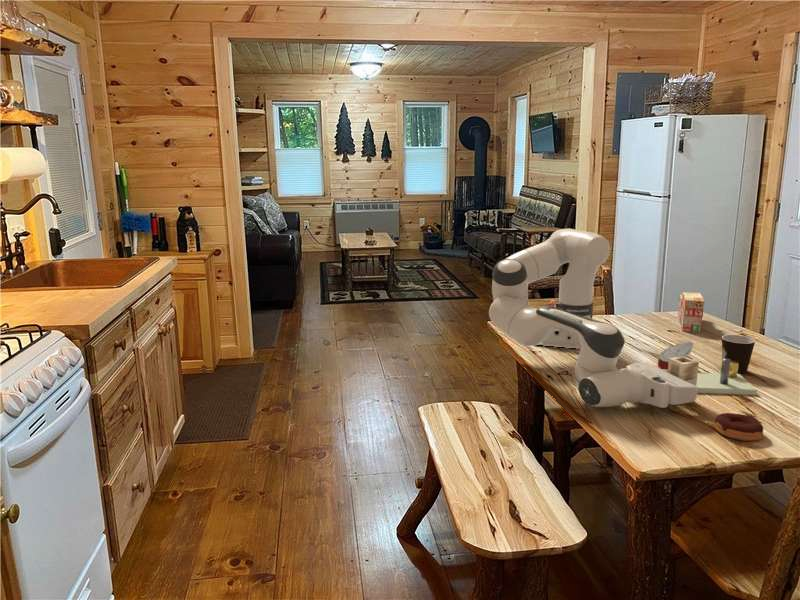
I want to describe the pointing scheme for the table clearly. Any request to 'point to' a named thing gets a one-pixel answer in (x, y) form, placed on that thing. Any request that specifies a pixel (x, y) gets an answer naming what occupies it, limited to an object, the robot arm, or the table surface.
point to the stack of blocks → (691, 312)
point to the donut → (739, 426)
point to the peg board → (712, 385)
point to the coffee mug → (738, 350)
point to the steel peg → (725, 371)
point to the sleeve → (683, 368)
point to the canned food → (674, 353)
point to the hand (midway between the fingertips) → (684, 377)
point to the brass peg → (733, 369)
